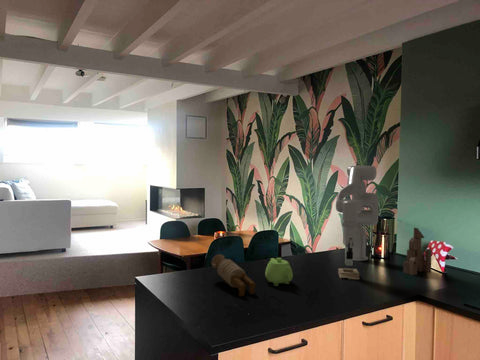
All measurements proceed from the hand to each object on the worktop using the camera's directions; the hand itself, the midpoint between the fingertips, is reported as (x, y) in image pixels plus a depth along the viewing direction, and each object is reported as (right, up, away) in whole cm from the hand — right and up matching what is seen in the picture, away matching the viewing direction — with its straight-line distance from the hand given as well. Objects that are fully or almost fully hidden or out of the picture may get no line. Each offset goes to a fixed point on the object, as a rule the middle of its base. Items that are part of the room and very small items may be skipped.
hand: (348, 257), depth 213 cm
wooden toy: (+41, -10, +10) cm, 44 cm away
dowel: (0, -4, 0) cm, 4 cm away
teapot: (-39, -11, -12) cm, 42 cm away
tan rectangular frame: (0, -10, +1) cm, 10 cm away
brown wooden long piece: (-62, -11, -19) cm, 66 cm away
